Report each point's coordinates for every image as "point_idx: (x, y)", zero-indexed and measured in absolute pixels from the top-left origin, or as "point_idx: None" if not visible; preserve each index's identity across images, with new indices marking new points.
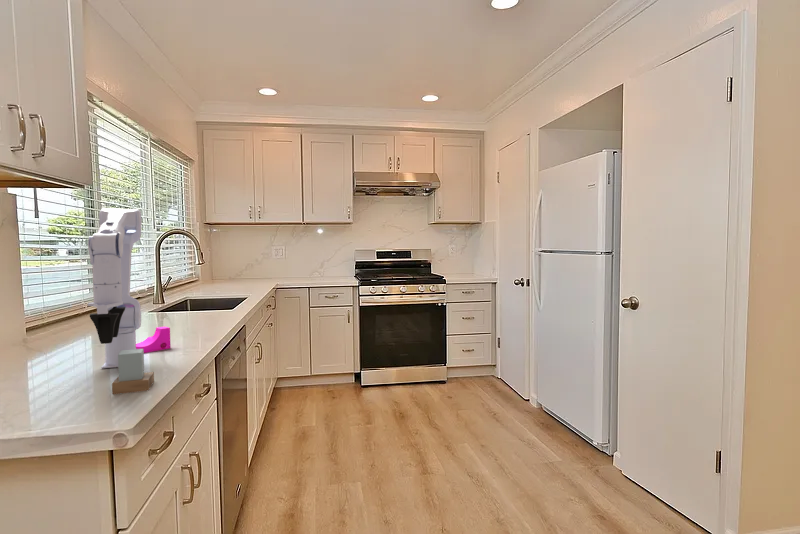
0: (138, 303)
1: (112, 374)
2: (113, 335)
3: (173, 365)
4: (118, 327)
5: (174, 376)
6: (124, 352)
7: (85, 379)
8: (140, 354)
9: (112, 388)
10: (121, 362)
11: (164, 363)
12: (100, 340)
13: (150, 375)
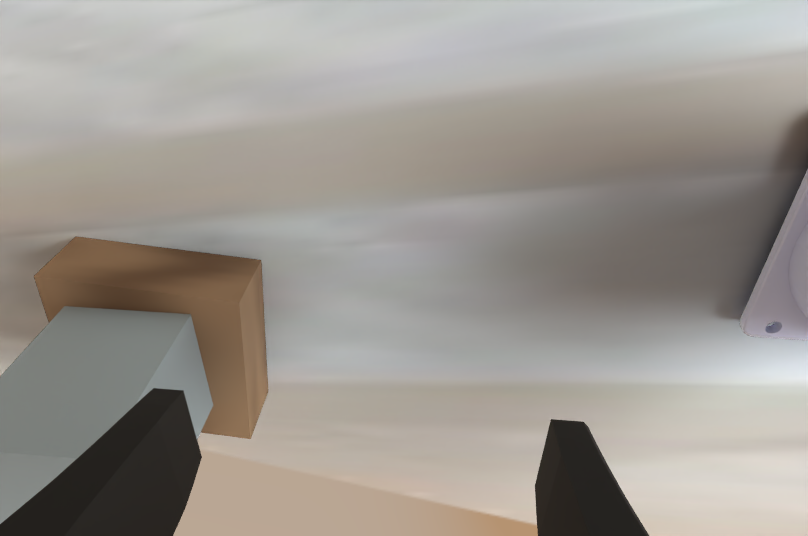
0: None
1: (607, 197)
2: (540, 486)
3: (614, 470)
4: None
5: (355, 459)
6: (16, 476)
7: (562, 22)
8: None
9: (52, 259)
10: None
11: (709, 441)
12: (126, 417)
13: None
